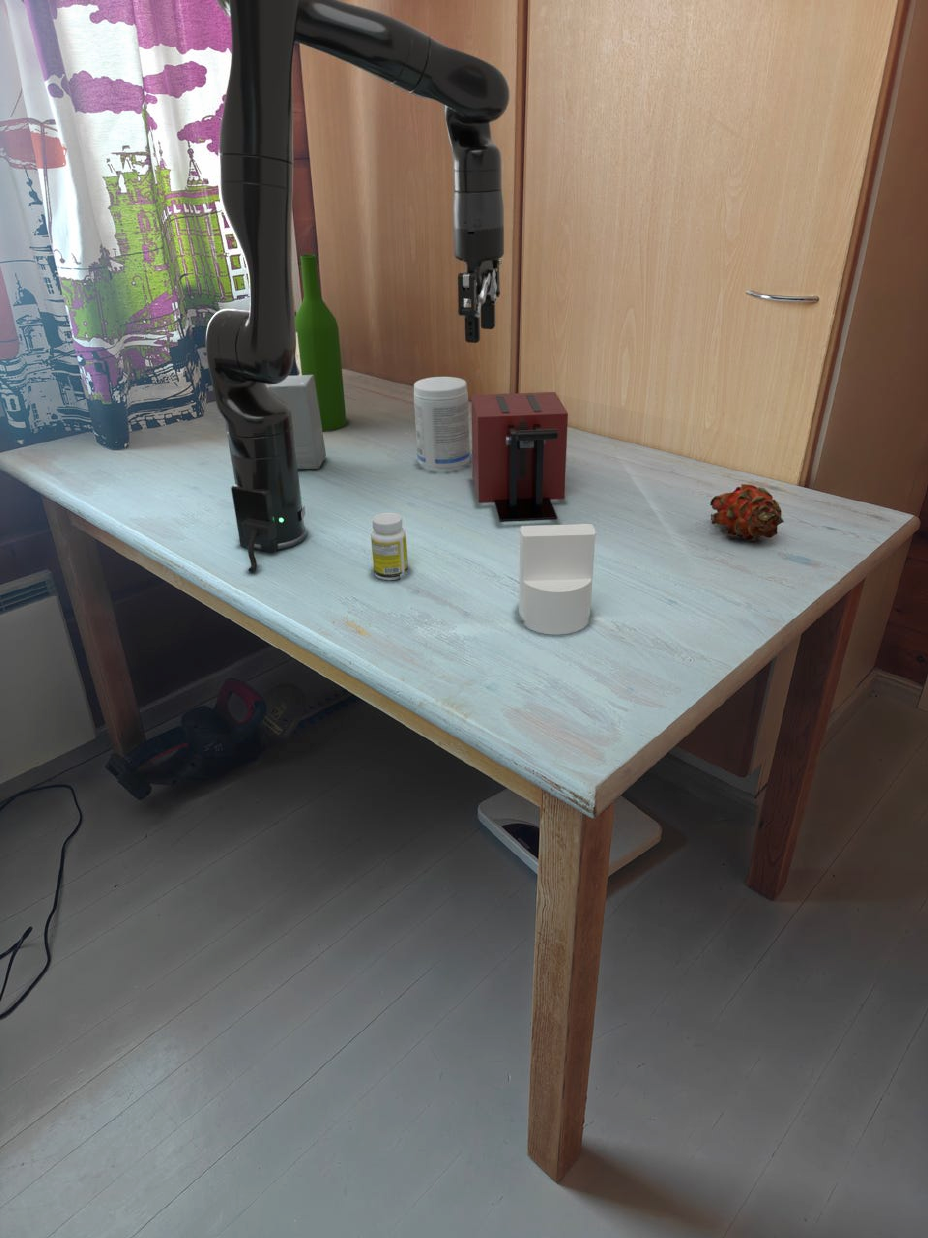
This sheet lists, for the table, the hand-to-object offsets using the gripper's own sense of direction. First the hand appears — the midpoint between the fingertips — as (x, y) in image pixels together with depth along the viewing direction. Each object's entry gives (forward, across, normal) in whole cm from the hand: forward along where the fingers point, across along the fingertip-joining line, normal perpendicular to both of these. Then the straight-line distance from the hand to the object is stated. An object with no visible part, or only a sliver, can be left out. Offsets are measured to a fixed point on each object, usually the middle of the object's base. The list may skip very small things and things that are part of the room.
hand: (480, 335), depth 138 cm
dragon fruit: (+25, +10, +43) cm, 51 cm away
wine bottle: (+26, -23, -41) cm, 53 cm away
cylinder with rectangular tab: (+24, +42, +22) cm, 53 cm away
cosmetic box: (+25, 0, -35) cm, 43 cm away
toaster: (+25, +2, +7) cm, 26 cm away
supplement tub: (+25, -7, -10) cm, 28 cm away
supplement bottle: (+24, +36, -3) cm, 44 cm away
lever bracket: (+25, +11, +10) cm, 29 cm away
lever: (+12, +16, +12) cm, 23 cm away
